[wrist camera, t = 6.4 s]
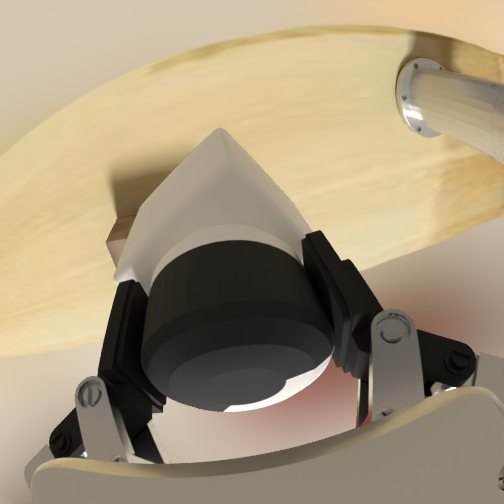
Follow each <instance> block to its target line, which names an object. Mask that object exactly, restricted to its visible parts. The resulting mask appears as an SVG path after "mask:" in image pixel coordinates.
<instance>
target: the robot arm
mask: <svg viewBox="0 0 504 504" xmlns="http://www.w3.org/2000/svg"><path fill="white" fill-rule="evenodd" d="M396 99H397V104H398V108H399V111H400V114H401V116H402V118H403V120H404V122H405V123H406V125H407V126H408V127H409V128H410V129H411V130H412V131H413V132H415V133H416V134H418V135H421V136H423V137H427V138H432V137H436V136H439V135H440V134H444V135H446V136H448V137H451V138H453V139H455V140H457V141H459V142H462V143H464V144H466V145H468V146H470V147H472V148H474V149H476V150H478V151H480V152H482V153H484V154H486V155H488V156H489V157H491V158H493V159H495V160H497V161H498V162H500V163H502V164H504V84H502V83H499V82H495V81H492V80H488V79H484V78H480V77H476V76H471V75H467V74H462V73H457V72H451V71H446V70H445V69H444V68H443V67H442V66H441V65H440V64H439V63H437V62H436V61H434V60H432V59H428V58H415V59H413V60H410V61H409V62H408V63H407V64H405V66H404V67H403V68H402V70H401V72H400V74H399V77H398V81H397V87H396ZM301 245H302V255H303V265H304V268H305V270H306V272H307V274H308V276H309V278H310V280H311V283H312V285H313V287H314V289H315V291H316V293H317V295H318V297H319V299H320V302H321V304H322V306H323V308H324V310H325V312H326V315H327V317H328V319H329V321H330V323H331V326H332V328H333V330H334V334H335V346H334V350H333V353H332V357H333V359H334V362H335V364H336V366H337V367H341V366H342V369H343V371H344V373H347V372H349V371H350V372H351V374H352V376H353V377H355V378H358V401H357V417H356V418H357V419H356V428H355V429H352V430H349V431H347V432H344V433H341V434H338V435H335V436H332V437H329V438H325V439H322V440H319V441H316V442H312V443H308V444H305V445H301V446H298V447H293V448H289V449H285V450H280V451H276V452H271V453H266V454H261V455H256V456H249V457H243V458H236V459H229V460H221V461H211V462H198V463H179V464H171V463H170V461H169V459H168V457H167V455H166V453H165V450H164V449H163V446H162V444H161V442H160V440H159V437H158V435H157V433H156V431H155V428H154V426H153V424H152V421H151V419H152V413H163V405H165V404H166V396H165V395H164V394H162V393H161V392H160V391H159V390H158V389H157V388H156V387H155V386H154V385H153V384H152V383H151V382H150V380H149V379H148V378H147V376H146V375H145V373H144V371H143V369H142V366H141V348H142V340H143V332H144V324H145V317H146V310H147V303H148V295H147V294H146V292H145V290H144V289H143V287H142V285H141V284H140V282H138V281H137V282H136V281H135V280H134V279H130V280H126V281H123V282H120V283H119V284H118V288H117V291H116V295H115V298H114V302H113V305H112V309H111V313H110V317H109V321H108V325H107V329H106V333H105V338H104V342H103V348H102V352H101V357H100V362H99V367H98V375H97V377H96V376H91V377H87V378H86V379H84V380H83V381H82V382H81V383H80V384H79V385H78V387H77V389H76V393H75V404H76V407H75V408H74V409H73V410H72V411H71V412H70V414H69V415H68V416H67V417H66V418H65V419H64V420H63V421H62V422H61V423H60V424H59V425H58V426H57V427H56V428H55V429H54V430H53V432H52V434H51V436H50V440H49V445H48V444H46V445H45V446H44V447H43V448H42V449H41V451H40V452H39V453H38V454H37V455H36V456H35V457H34V458H33V459H32V460H31V461H30V462H29V463H28V464H27V466H26V467H25V471H24V474H25V479H26V482H27V484H28V486H29V488H30V504H504V358H500V357H496V356H492V355H488V354H485V353H481V352H480V353H479V354H478V355H477V354H475V353H474V352H473V350H472V349H471V348H470V347H469V346H468V345H467V344H464V343H462V342H459V341H455V340H452V339H449V338H445V337H442V336H438V335H435V334H431V333H428V332H425V331H421V330H418V329H416V326H415V323H414V321H413V319H412V318H411V317H410V316H409V315H408V314H407V313H405V312H403V311H400V310H395V309H389V310H383V308H382V307H381V305H380V304H379V302H378V300H377V299H376V297H375V296H374V294H373V293H372V291H371V289H370V288H369V286H368V285H367V284H366V282H365V280H364V279H363V277H362V276H361V274H360V273H359V271H358V270H357V268H356V267H355V266H354V264H353V263H352V261H351V260H349V259H346V260H343V261H341V259H340V258H339V256H338V255H337V253H336V252H335V250H334V249H333V247H332V246H331V244H330V243H329V241H328V240H327V239H326V237H325V236H324V234H323V233H322V231H320V230H319V231H315V232H311V233H307V234H306V235H305V238H304V239H301Z"/></svg>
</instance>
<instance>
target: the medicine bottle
mask: <svg viewBox="0 0 504 504" xmlns="http://www.w3.org/2000/svg"><path fill="white" fill-rule="evenodd" d="M311 232H312V230H311V229H310V227H309V226H308V224H307V223H306V221H305V220H304V218H303V217H302V215H301V214H300V212H299V210H298V209H297V207H296V206H295V204H294V203H293V202H292V201H291V200H290V198H289V197H288V196H287V195H286V194H285V193H284V192H283V191H282V190H281V188H280V187H279V186H278V185H277V184H276V183H275V182H274V181H273V180H272V179H271V177H270V176H269V175H268V174H267V173H266V172H265V171H264V170H263V169H262V168H261V167H260V166H259V165H258V163H257V162H256V161H255V160H254V159H253V158H252V157H251V156H250V155H249V154H248V153H247V152H246V151H245V150H244V149H243V148H242V147H241V146H240V145H239V144H238V143H237V142H236V141H235V140H234V139H233V138H232V136H231V135H230V134H229V133H228V132H227V131H226V130H224V129H223V128H218V129H216V130H214V131H213V132H212V133H211V134H210V135H209V136H208V137H207V138H206V139H205V140H204V141H203V142H201V143H200V144H199V145H198V146H197V147H196V148H195V149H194V150H193V151H192V152H191V153H190V154H189V155H188V156H187V157H186V158H185V159H184V160H183V161H182V162H181V163H180V164H179V165H178V166H177V167H176V168H175V169H174V170H173V171H172V172H171V173H170V174H169V175H168V176H167V178H166V179H165V180H164V181H163V182H162V183H161V184H160V185H159V186H158V187H157V188H156V189H155V190H154V192H153V193H152V194H151V195H150V196H149V197H148V198H147V199H146V200H145V202H144V203H143V204H142V205H141V206H140V208H139V211H138V213H137V215H136V218H135V220H134V223H133V225H132V228H131V230H130V233H129V235H128V238H127V240H126V243H125V246H124V248H123V251H122V254H121V257H120V259H119V262H118V265H117V268H116V271H115V274H114V282H115V283H116V284H117V285H118V284H119V283H120V282H123V281H126V280H130V279H134V280H135V281H136V282H137V281H138V282H140V284H141V285H142V287H143V289H144V290H145V292H146V294H147V295H148V303H147V310H146V317H145V324H144V332H143V340H142V348H141V366H142V369H143V371H144V373H145V375H146V376H147V378H148V379H149V380H150V382H151V383H152V384H153V385H154V386H155V387H156V388H157V389H158V390H159V391H160V392H161V393H162V394H164V395H165V396H167V397H169V398H170V399H172V400H175V401H177V402H179V403H182V404H185V405H188V406H192V407H196V408H199V409H204V410H209V411H218V412H236V411H246V410H252V409H258V408H262V407H266V406H268V405H272V404H274V403H277V402H280V401H282V400H285V399H287V398H289V397H290V396H292V395H294V394H296V393H297V392H299V391H300V390H302V389H303V388H305V387H306V386H308V385H309V384H310V383H312V382H313V381H314V380H315V379H317V377H318V376H319V375H320V374H321V373H322V372H323V371H324V369H325V368H326V367H327V365H328V363H329V361H330V358H331V356H332V353H333V350H334V346H335V334H334V330H333V328H332V326H331V323H330V321H329V319H328V317H327V315H326V312H325V310H324V308H323V306H322V304H321V302H320V299H319V297H318V295H317V293H316V291H315V289H314V287H313V285H312V283H311V280H310V278H309V276H308V274H307V272H306V270H305V268H304V265H303V255H302V245H301V239H304V238H305V235H306V234H307V233H311Z"/></svg>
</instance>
